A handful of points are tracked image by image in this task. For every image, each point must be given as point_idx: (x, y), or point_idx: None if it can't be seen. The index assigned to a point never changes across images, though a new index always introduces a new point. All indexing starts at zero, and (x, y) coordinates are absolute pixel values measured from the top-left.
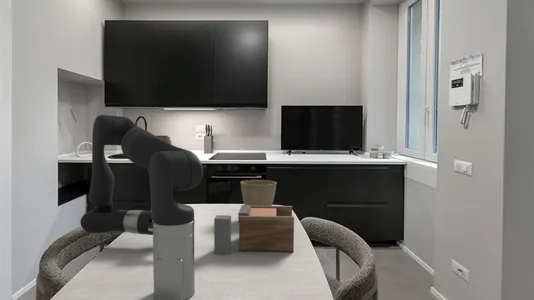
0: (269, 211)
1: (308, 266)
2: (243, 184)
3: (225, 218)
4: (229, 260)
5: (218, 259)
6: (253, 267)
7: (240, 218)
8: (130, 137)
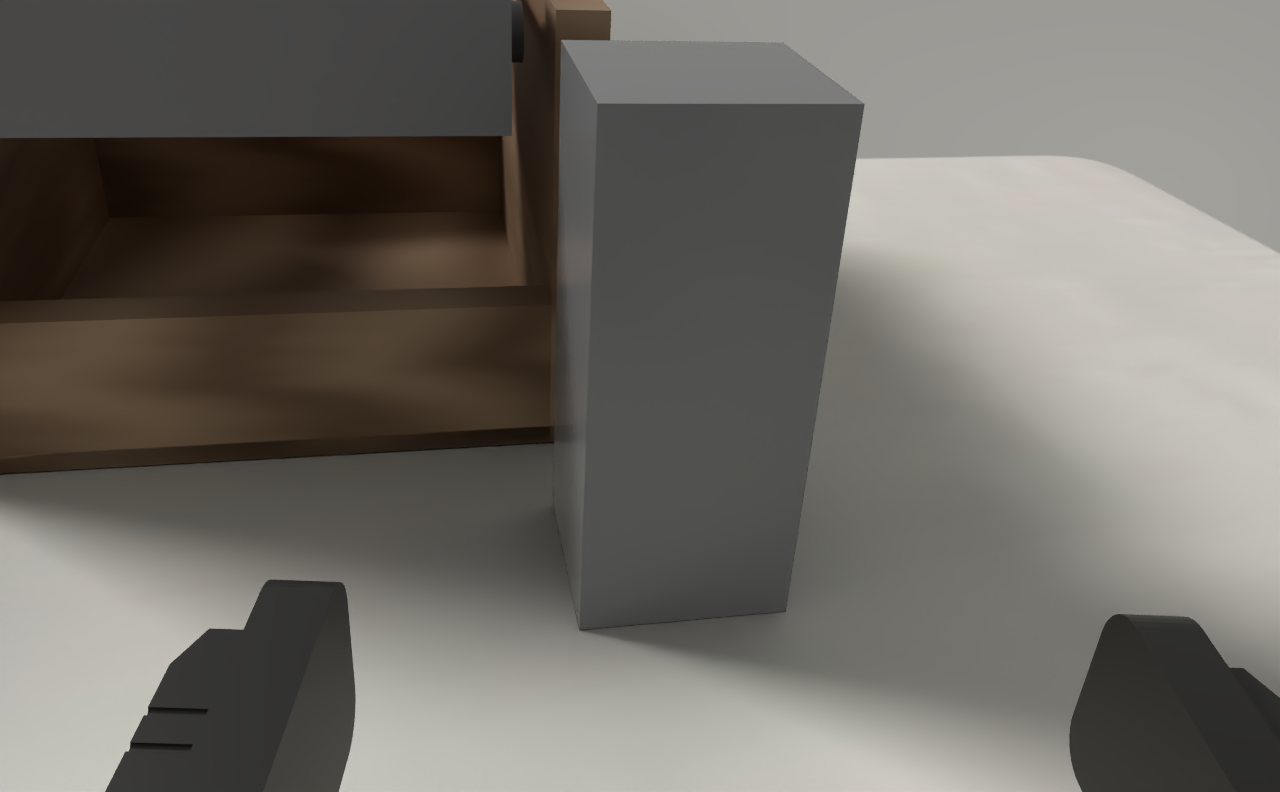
0: None
1: None
2: None
3: (768, 56)
4: (898, 464)
5: (926, 543)
6: (954, 332)
7: (606, 34)
8: None
